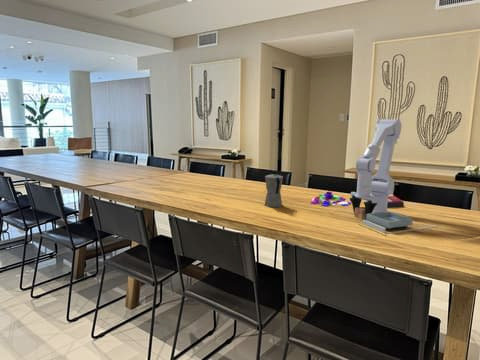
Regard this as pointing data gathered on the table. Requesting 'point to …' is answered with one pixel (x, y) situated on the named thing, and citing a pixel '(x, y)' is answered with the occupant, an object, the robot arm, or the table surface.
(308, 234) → the table surface
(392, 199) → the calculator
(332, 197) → the colorful gemstone pile
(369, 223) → the track
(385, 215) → the light blue storage bin
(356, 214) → the block
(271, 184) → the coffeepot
